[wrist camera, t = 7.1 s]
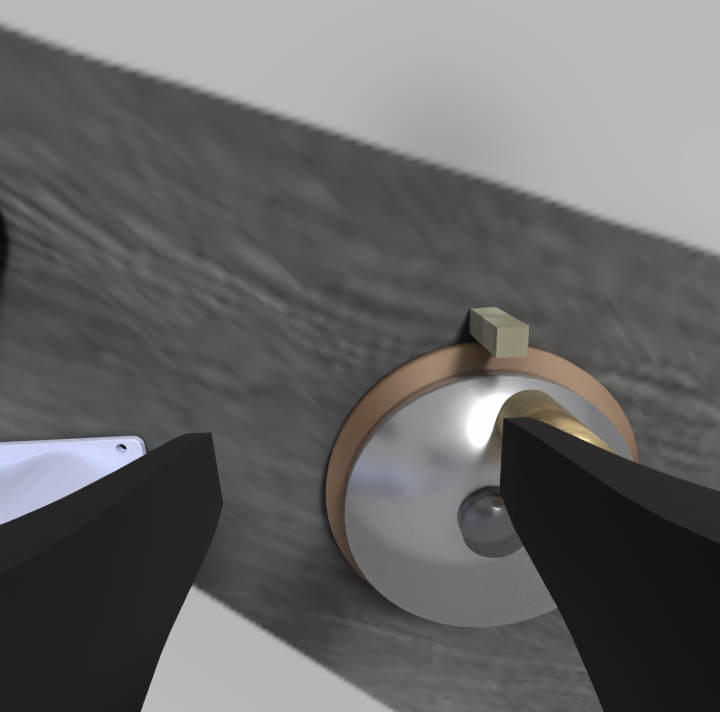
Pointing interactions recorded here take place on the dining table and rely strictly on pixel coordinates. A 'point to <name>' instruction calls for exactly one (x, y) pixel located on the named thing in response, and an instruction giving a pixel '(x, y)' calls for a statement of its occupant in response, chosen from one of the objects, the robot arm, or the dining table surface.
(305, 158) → the dining table surface
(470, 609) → the handwheel
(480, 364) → the wheel base
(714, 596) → the robot arm
